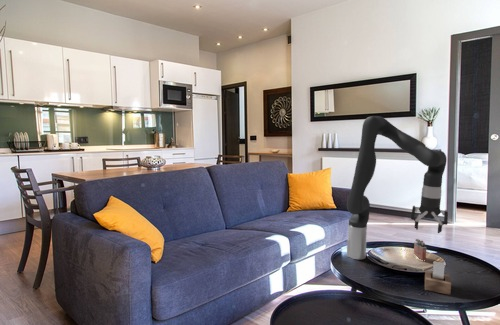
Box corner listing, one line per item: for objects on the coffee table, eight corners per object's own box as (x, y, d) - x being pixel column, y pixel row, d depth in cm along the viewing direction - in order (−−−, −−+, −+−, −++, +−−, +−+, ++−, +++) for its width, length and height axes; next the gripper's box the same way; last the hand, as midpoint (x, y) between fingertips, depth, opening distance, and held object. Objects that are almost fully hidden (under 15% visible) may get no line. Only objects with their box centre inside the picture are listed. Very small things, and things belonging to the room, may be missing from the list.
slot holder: (424, 290, 140) (425, 279, 139) (424, 280, 148) (425, 270, 148) (450, 295, 136) (451, 284, 135) (448, 285, 144) (449, 274, 143)
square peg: (432, 286, 141) (433, 264, 140) (432, 282, 144) (433, 261, 143) (442, 288, 139) (444, 266, 138) (442, 284, 143) (444, 263, 141)
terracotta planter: (427, 261, 168) (428, 243, 166) (421, 262, 167) (422, 243, 166) (417, 255, 176) (418, 237, 174) (411, 255, 175) (412, 237, 174)
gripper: (412, 195, 143) (409, 230, 145) (450, 199, 136) (446, 236, 139) (413, 191, 149) (410, 225, 152) (449, 196, 143) (445, 231, 145)
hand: (427, 230), depth 145 cm, fingers open, 8 cm apart
